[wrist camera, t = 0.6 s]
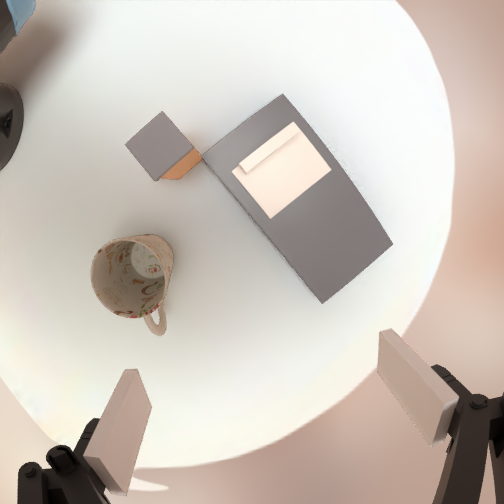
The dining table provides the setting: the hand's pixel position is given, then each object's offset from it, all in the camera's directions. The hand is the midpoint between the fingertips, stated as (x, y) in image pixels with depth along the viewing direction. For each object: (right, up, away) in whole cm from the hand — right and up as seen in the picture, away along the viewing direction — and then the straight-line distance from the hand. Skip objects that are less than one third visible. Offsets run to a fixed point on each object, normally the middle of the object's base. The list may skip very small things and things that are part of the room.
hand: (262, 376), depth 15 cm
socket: (+5, +13, +23) cm, 27 cm away
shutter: (+3, +16, +19) cm, 25 cm away
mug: (-13, +4, +24) cm, 28 cm away
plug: (-9, +18, +21) cm, 29 cm away
